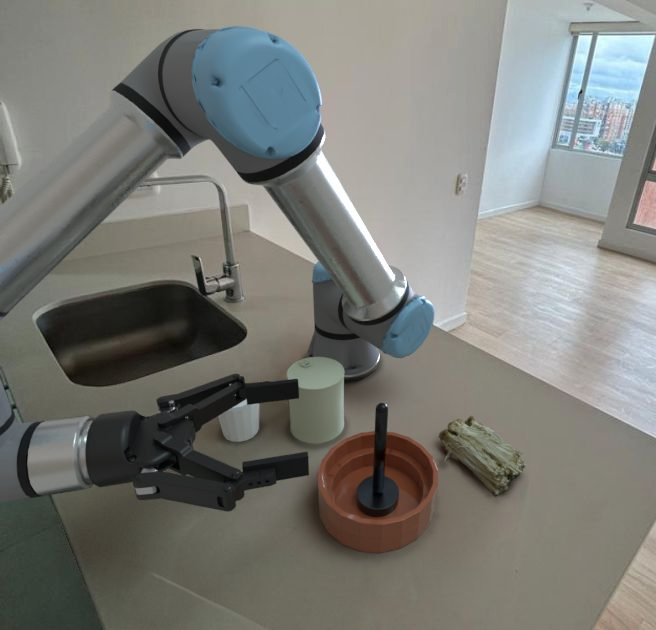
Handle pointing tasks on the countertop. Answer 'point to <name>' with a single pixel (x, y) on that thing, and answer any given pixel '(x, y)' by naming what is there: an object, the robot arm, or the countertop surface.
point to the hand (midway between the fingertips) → (303, 421)
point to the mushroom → (482, 453)
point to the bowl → (357, 464)
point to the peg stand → (378, 474)
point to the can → (317, 399)
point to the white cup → (240, 422)
